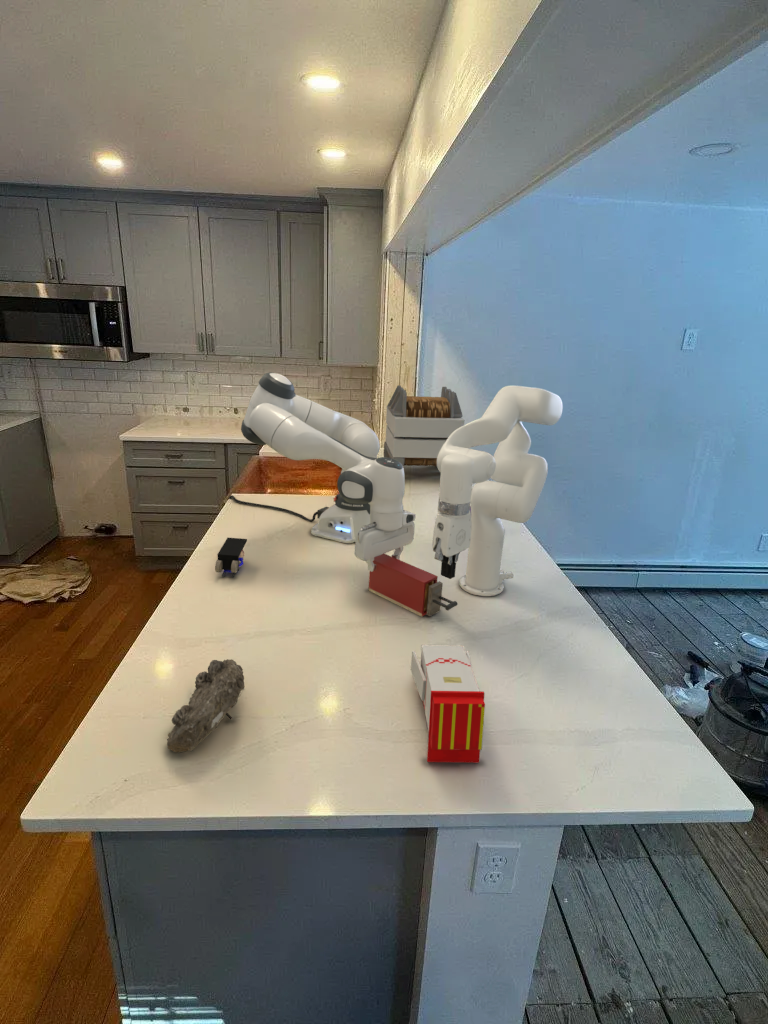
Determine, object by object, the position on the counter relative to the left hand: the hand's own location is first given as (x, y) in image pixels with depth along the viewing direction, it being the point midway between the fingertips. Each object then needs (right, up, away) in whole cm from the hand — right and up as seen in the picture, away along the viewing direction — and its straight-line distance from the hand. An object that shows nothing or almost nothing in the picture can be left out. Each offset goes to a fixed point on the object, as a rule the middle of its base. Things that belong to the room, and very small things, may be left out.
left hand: (384, 565), depth 156 cm
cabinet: (+5, -9, -1) cm, 10 cm away
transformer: (+17, +34, +119) cm, 125 cm away
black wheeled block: (-45, -2, +11) cm, 46 cm away
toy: (+12, -25, -44) cm, 52 cm away
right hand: (+16, -1, -15) cm, 22 cm away
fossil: (-33, -24, -48) cm, 63 cm away
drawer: (+9, -10, -5) cm, 14 cm away
